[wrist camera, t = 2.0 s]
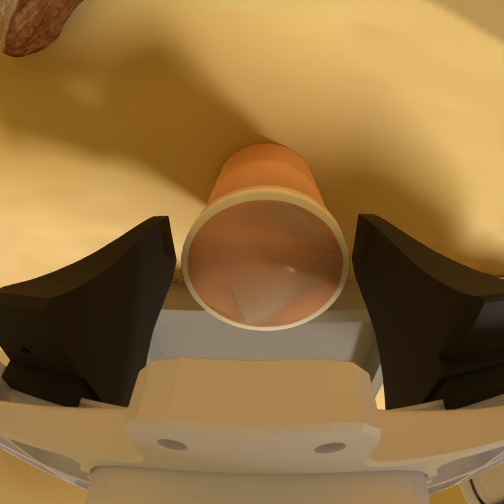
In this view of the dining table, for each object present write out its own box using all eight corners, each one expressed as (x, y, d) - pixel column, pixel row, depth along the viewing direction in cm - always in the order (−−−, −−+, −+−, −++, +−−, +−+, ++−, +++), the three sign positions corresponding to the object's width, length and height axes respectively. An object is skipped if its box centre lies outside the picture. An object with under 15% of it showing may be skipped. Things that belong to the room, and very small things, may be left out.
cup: (320, 139, 14) (360, 194, 8) (315, 235, 17) (337, 329, 11) (209, 140, 14) (168, 195, 9) (217, 236, 17) (194, 329, 11)
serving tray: (404, 280, 18) (416, 306, 16) (365, 383, 25) (370, 406, 23) (129, 281, 19) (116, 306, 17) (167, 383, 26) (162, 405, 24)
